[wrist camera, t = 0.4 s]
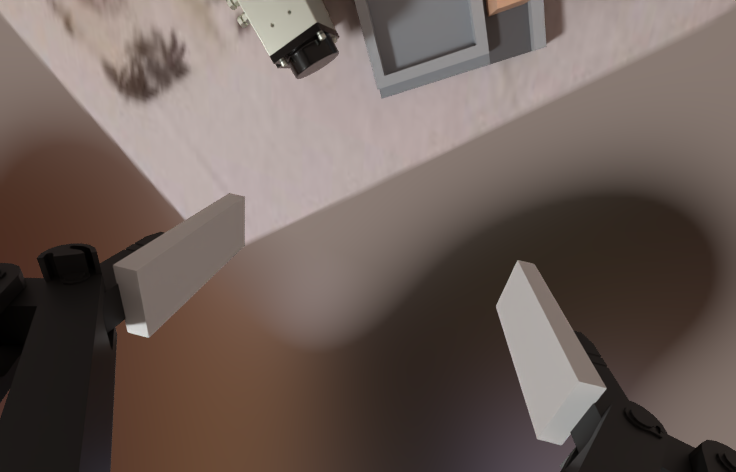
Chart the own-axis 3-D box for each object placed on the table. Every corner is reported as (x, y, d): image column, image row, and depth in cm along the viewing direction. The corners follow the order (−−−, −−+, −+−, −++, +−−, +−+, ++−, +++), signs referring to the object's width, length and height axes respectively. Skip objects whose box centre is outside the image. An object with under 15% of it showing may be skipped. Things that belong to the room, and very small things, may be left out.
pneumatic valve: (296, -69, 31) (229, -142, 20) (356, 55, 35) (327, 48, 24) (252, -32, 33) (170, -80, 22) (314, 82, 36) (270, 87, 26)
